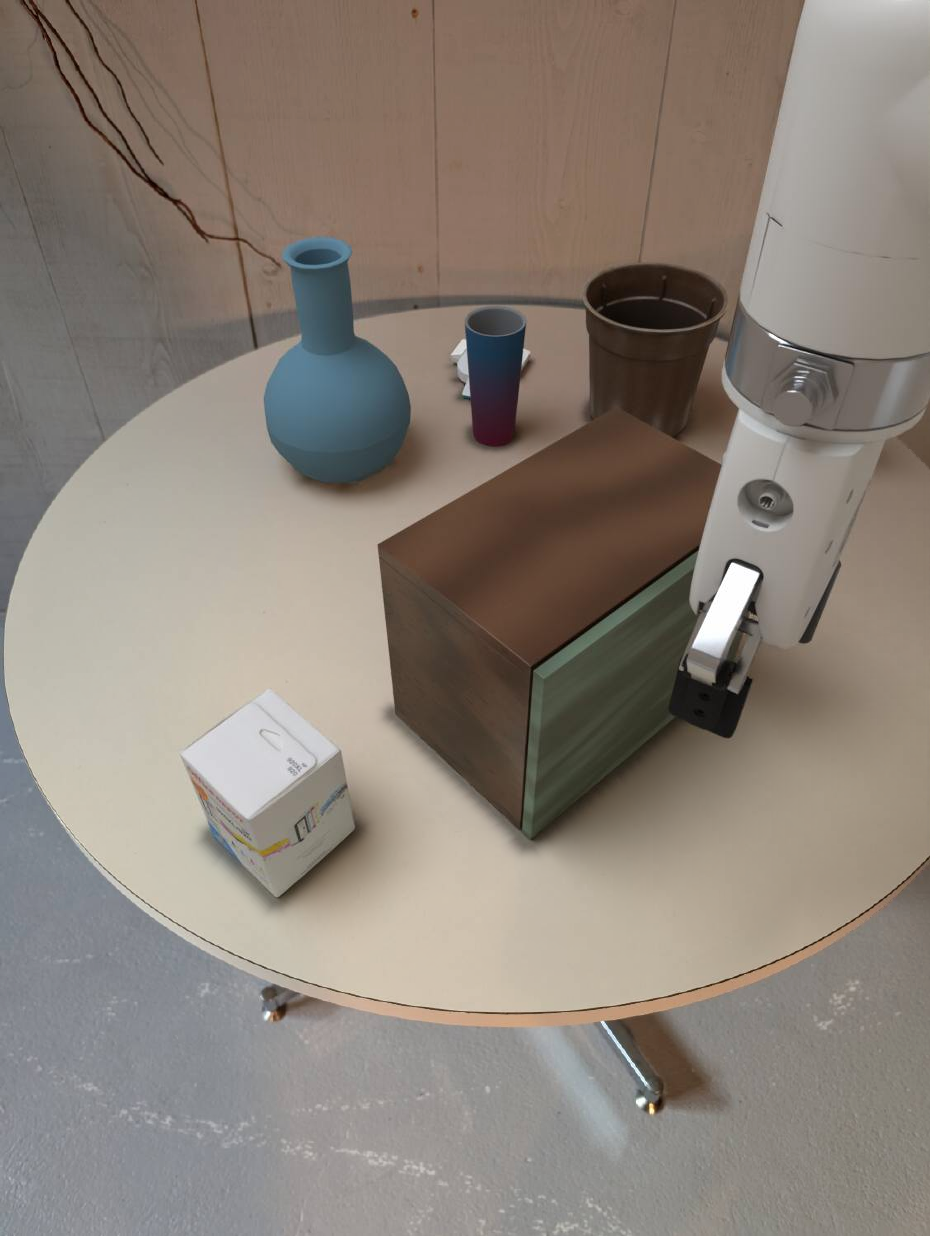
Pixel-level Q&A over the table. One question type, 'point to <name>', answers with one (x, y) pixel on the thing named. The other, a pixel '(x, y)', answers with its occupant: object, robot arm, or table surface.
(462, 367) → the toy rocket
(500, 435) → the cup
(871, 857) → the table surface
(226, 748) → the ink box
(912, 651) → the table surface
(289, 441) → the vase
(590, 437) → the cupboard
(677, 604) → the cupboard door
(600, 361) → the plant pot
